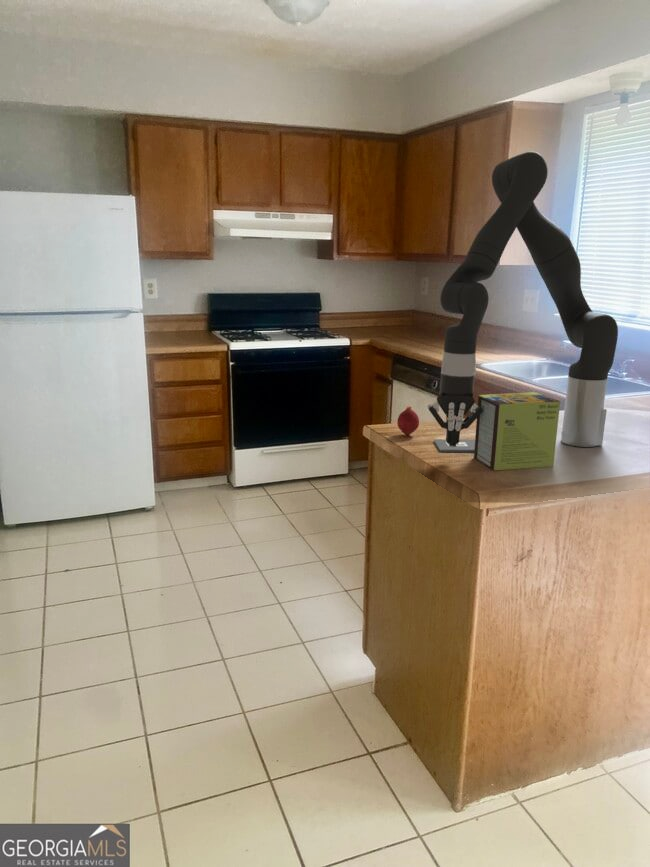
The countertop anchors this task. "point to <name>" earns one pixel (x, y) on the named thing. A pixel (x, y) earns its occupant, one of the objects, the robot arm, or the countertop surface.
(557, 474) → the countertop surface
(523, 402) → the protein box
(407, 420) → the onion
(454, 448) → the label panel
